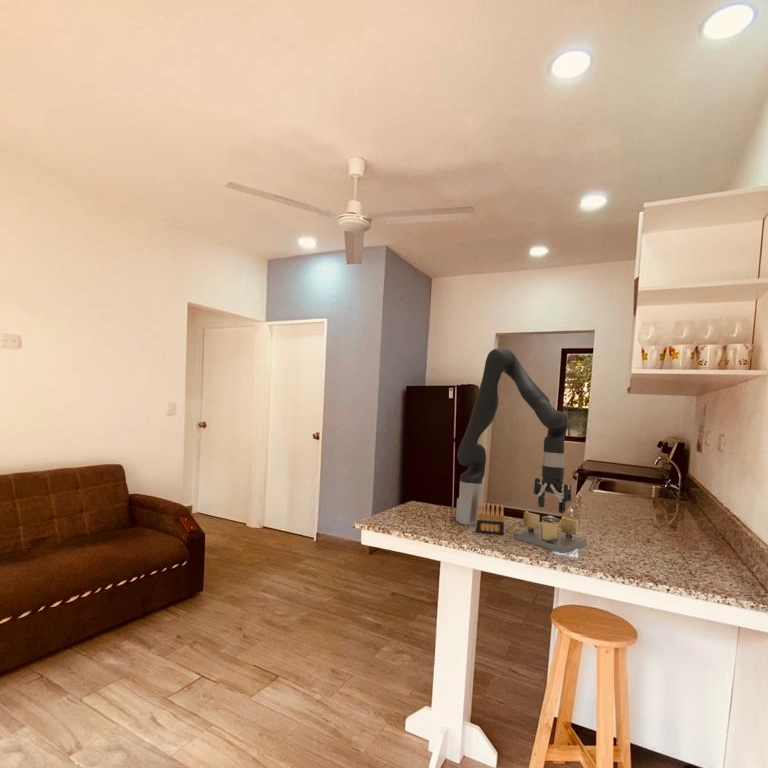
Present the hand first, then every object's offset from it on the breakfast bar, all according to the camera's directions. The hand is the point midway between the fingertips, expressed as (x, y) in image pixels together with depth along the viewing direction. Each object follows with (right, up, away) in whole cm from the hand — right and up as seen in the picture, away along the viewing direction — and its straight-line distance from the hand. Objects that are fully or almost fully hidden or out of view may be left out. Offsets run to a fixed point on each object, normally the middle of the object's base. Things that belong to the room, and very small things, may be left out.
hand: (551, 509), depth 159 cm
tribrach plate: (+2, -14, +7) cm, 16 cm away
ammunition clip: (-20, -13, +12) cm, 26 cm away
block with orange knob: (-3, -12, +13) cm, 18 cm away
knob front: (-1, -11, 0) cm, 12 cm away
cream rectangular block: (+10, -13, +9) cm, 18 cm away
